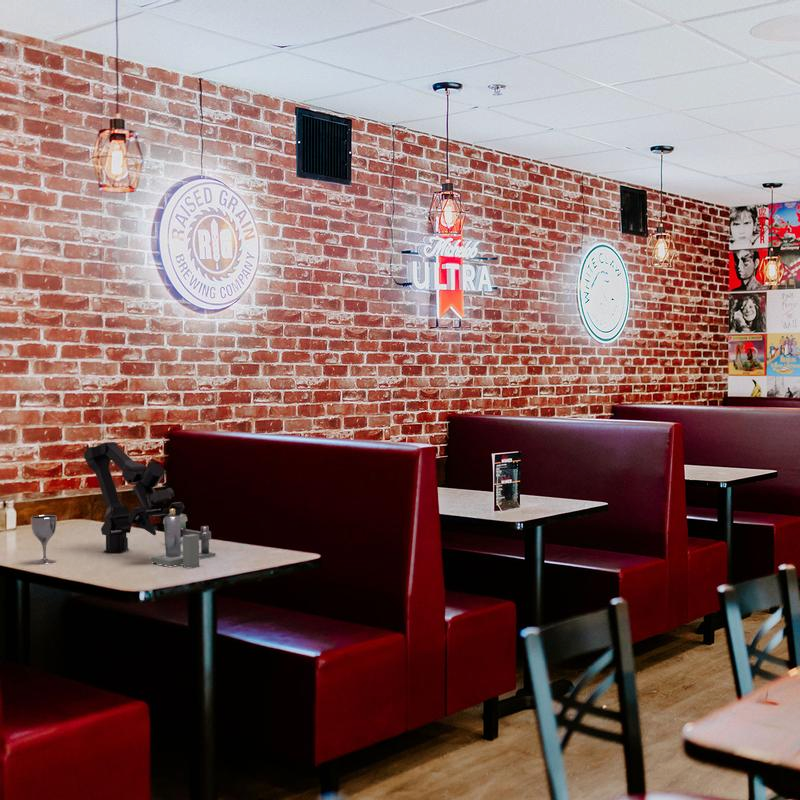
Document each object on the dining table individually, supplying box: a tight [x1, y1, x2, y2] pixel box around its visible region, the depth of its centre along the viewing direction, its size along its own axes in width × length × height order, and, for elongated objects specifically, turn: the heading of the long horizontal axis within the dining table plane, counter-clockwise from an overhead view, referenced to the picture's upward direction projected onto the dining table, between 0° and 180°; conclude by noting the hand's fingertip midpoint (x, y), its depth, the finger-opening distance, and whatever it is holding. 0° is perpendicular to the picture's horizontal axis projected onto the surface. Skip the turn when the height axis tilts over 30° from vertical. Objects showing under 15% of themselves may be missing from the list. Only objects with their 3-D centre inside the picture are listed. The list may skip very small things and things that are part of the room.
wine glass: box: [30, 514, 58, 565], centre depth 328 cm, size 8×8×15 cm
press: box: [151, 534, 217, 568], centre depth 326 cm, size 16×22×10 cm
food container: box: [162, 513, 188, 538], centre depth 364 cm, size 12×6×10 cm, turn 168°
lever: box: [180, 525, 212, 553], centre depth 340 cm, size 17×4×9 cm, turn 48°
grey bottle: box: [164, 509, 182, 558], centre depth 324 cm, size 5×5×15 cm
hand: (167, 532), depth 326 cm, fingers open, 9 cm apart
